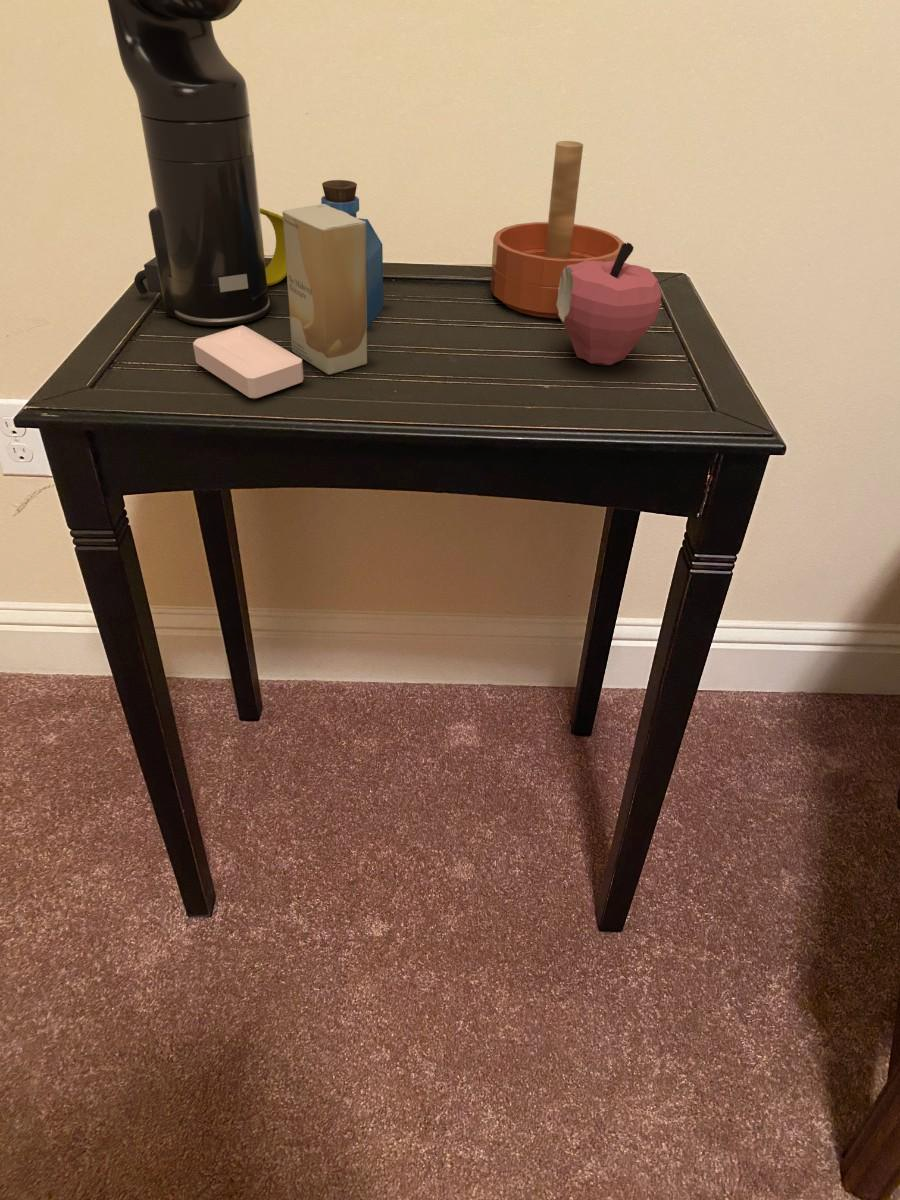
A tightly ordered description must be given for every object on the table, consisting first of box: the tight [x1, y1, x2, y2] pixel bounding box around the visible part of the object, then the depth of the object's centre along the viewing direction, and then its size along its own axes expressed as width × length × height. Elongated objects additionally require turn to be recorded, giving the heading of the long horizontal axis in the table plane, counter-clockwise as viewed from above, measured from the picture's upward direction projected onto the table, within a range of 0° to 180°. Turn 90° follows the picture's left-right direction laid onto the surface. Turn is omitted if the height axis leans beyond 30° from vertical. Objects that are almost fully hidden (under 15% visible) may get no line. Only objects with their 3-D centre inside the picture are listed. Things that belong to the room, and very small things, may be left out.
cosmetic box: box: [281, 203, 368, 376], centre depth 72 cm, size 6×4×12 cm
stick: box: [545, 140, 584, 259], centre depth 86 cm, size 4×4×14 cm
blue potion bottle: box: [320, 179, 384, 329], centre depth 81 cm, size 6×6×12 cm
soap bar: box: [192, 324, 305, 400], centre depth 72 cm, size 5×9×2 cm, turn 43°
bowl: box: [490, 221, 625, 319], centre depth 88 cm, size 13×13×6 cm
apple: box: [557, 242, 662, 367], centre depth 75 cm, size 10×9×10 cm
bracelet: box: [259, 207, 287, 287], centre depth 89 cm, size 7×8×3 cm
